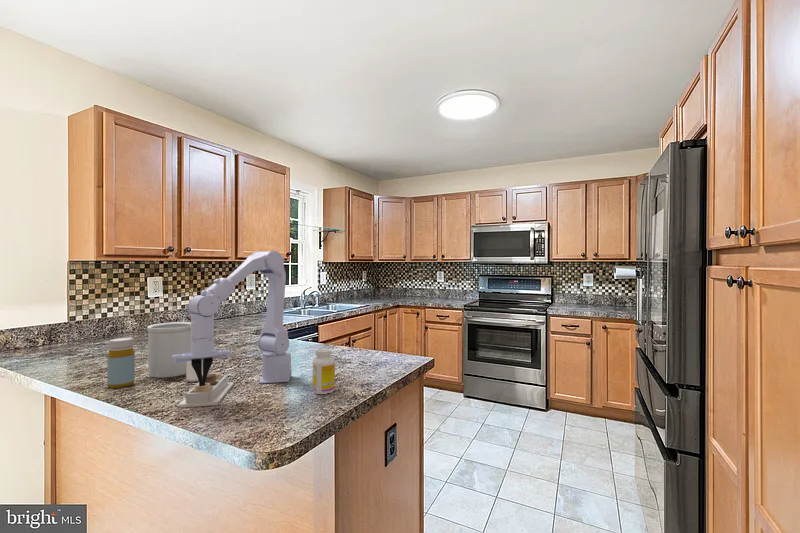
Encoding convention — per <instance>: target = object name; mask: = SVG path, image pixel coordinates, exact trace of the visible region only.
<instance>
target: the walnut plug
mask: <svg viewBox="0 0 800 533" xmlns="http://www.w3.org/2000/svg"><path fill="white" fill-rule="evenodd" d="M202 379H203V375H202ZM205 383H210V386H211V385H216V374H209V373H208V374H207V377H206V381H205Z"/></svg>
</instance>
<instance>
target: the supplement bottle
mask: <svg viewBox="0 0 800 533" xmlns="http://www.w3.org/2000/svg"><path fill="white" fill-rule="evenodd" d="M315 355H316V357H315V358H314V359H313V360H312V391H313V393H314V394H315V395H318V394H326V395H328V394H327V393H330V394H332V393H334V392H333V391H336V379H335V378H336V375H335V374H336V373H335V371H336V369H335V366H336V365H335V364H336V361H335V359H334V358H333V357H332V349H331V348H318V349H316V350H315ZM331 392H332V393H331Z"/></svg>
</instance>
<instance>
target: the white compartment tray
mask: <svg viewBox="0 0 800 533" xmlns="http://www.w3.org/2000/svg"><path fill="white" fill-rule="evenodd" d="M234 383H235V382H234V381H233V382H232V381H231V382H229V375H228V374H221V380H216V385H211V386H210V391H209V392H197V393H194V386H193V387H192V388H190V389H189V390H188V391H187V392H185V398H183V399H182V400H181V401H180V402H179V403H178V404H177V408H178V409H179V408H192V407H206V406H207V407H208V406H218V405H219V404H220V403H221V401H222V400H223V399H224V398H225V397H226V395H227V394H228V393H229V391H230V390H231V389H232V388H233V387H234V385H235V384H234ZM196 384H199V381H197V383H196Z"/></svg>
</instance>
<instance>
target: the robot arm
mask: <svg viewBox="0 0 800 533" xmlns="http://www.w3.org/2000/svg"><path fill="white" fill-rule="evenodd" d="M284 265H285V258H284V256H283V255H282V254H281V253H279V252H278V251H277V250H271V251H270V250H269V251H268V250H267V251H260V250H259V251H254V252H253V253H252V254H250V255H248V256H247V257H246V259H245V260H244V261H243V262H242V263H241V264H240V265H239V266H238V267H237V268H236V269H235V270H233V271H232V272H231V274H229V275H228V276H227V277H220V278H216V279H214V280H213V283H212V284H211V285H210V286H209V287H207V288H206V289H203V290H201V292H200V295H195V296H193V297H191V298H190V299H189V301H188V305H186V307H185V308H186V310H187V312H188V313H189V315H190V322H191V353H184V354H177V355H173V356H172V363H177V362H185V361H192V362H191V365H192V367H193V369H194V370H195V372H196V375H197V377H198V381H197V382H199V386H205V381H206V377H207V374H209V371H210V370H211V366H212V365H213V361H214V359H222V358H227V359H229V358H231V349H220V350H219V349H216V350H215V349H214V348H215V346H214V343H215V341H214V338H215V337H214V334H215V331H214V328H215V327H214V324H215V321H214V320H215V317H214V316H215V315H214V314H216V313H217V312H218V310H219V306H220V305H221V304H222V303H223V302H224V301H225V300H227V299H228V298H229V297H230V296H231V295H233V293H234V292H235V290H236V289H235V288H236V286H237V285H238V284H239V283H241V282H242V281H243V280H245V279H246V278H248V277H249V276H250V275H251V274H253V273H254V272H257V271H258V272H259V273H261V274H263V275H264V276H265V277H266V278H267V279H268V285H267V286H268V287H267V301H266V302H267V303H266V304H267V305H266V315H265V316H266V318H265V320H266V321H265V325H264V326H263V327H262V328H261V330H260V335H259V337H258V339H257V347H258V349H259V350H260V351H261V352H260V353H261V356H262V359H261V360H262V362H261V363H262V364H261V365H262V366H261V368H262V370H261V373H262V374H261V376H262V377H261V378H260V380H259V383H258V384H270V383H271V384H272V383H286V382H287V383H288V382H290V380H291V377H292V372H293V371H292V354H291V352H287V351H288V349H289V347H290V339H289V335H288V334H289V331H288V330H287V329H286V327H285V326H284V313H285V312H284V308H285V294H286V281H287V278H286V277H287V274H286V270H285V266H284ZM202 360H203V379H202Z"/></svg>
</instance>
